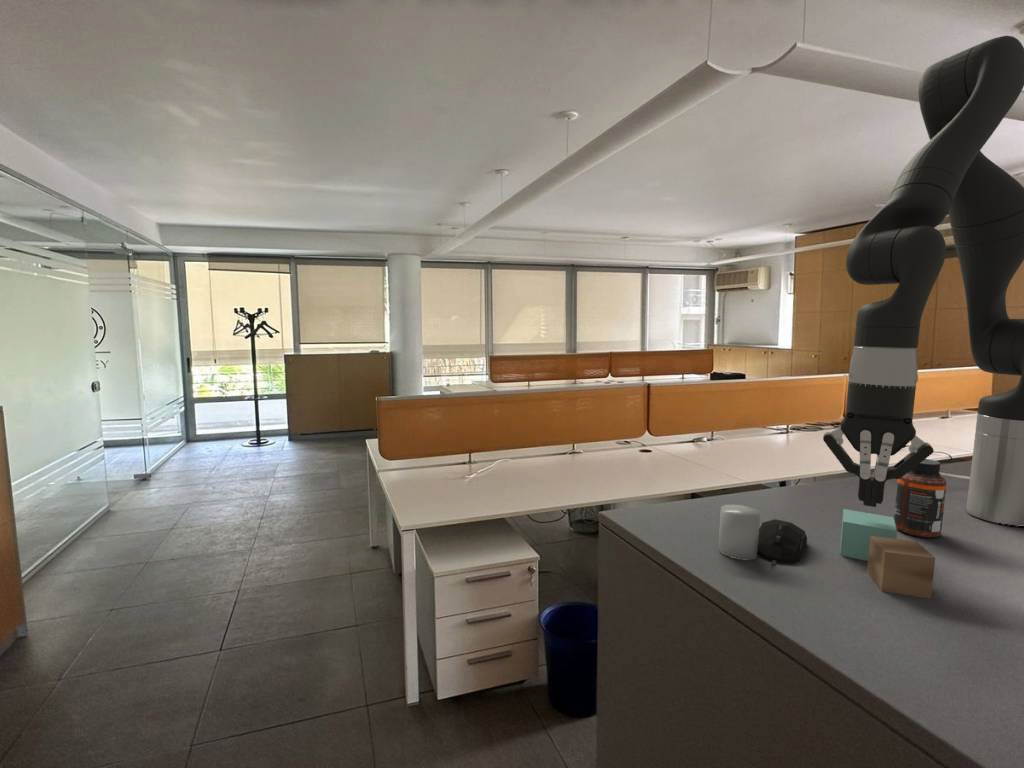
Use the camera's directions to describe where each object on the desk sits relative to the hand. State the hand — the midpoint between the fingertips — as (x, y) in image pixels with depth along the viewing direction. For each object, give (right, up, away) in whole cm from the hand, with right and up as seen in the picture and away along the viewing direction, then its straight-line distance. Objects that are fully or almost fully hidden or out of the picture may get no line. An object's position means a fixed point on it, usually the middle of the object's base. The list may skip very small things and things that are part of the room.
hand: (869, 504), depth 73 cm
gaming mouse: (-12, -7, +1) cm, 14 cm away
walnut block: (-2, -8, -8) cm, 12 cm away
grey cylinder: (-18, -7, 0) cm, 19 cm away
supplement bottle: (+13, -6, +9) cm, 17 cm away
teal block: (0, -7, +1) cm, 7 cm away
